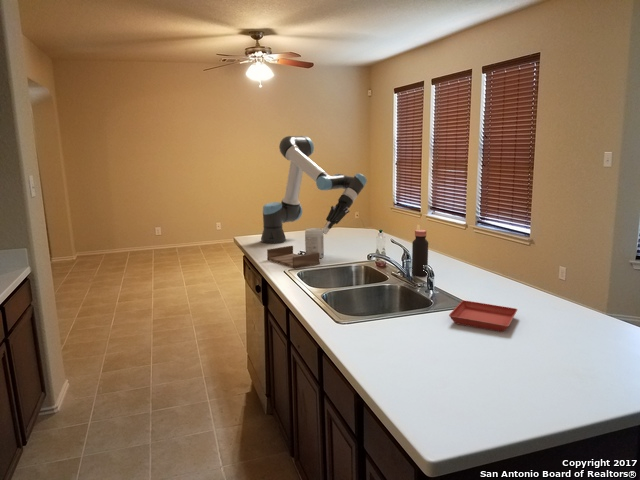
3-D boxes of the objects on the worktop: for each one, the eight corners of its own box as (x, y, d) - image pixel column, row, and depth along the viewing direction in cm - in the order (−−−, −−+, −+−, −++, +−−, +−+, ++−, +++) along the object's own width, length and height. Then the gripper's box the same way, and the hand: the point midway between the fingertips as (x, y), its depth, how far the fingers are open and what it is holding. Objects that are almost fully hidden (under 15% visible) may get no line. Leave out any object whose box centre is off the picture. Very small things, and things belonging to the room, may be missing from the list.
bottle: (409, 276, 208) (410, 231, 204) (414, 272, 214) (415, 228, 210) (424, 277, 205) (426, 232, 201) (429, 274, 211) (430, 230, 207)
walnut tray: (267, 259, 242) (267, 249, 241) (291, 255, 251) (291, 245, 250) (294, 268, 223) (294, 257, 222) (319, 263, 233) (319, 252, 232)
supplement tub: (316, 254, 253) (315, 227, 251) (327, 257, 246) (327, 229, 244) (301, 257, 247) (301, 229, 245) (313, 260, 240) (312, 231, 237)
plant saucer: (517, 317, 157) (518, 308, 156) (508, 335, 141) (508, 325, 141) (462, 308, 166) (462, 299, 165) (447, 325, 151) (448, 315, 150)
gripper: (359, 203, 252) (336, 238, 245) (343, 202, 262) (320, 235, 255) (352, 194, 248) (328, 229, 241) (335, 193, 258) (312, 226, 251)
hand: (324, 232), depth 248 cm, fingers closed
